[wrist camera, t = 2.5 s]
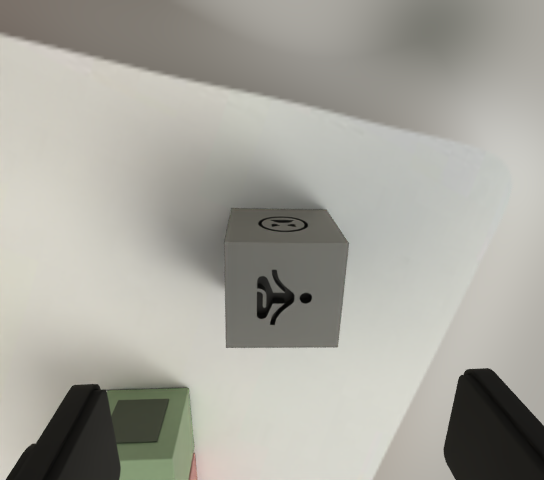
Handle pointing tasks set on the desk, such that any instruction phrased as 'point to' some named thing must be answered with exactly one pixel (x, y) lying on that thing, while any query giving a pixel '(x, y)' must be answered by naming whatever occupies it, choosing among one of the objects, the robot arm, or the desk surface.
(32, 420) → the desk surface
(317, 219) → the dice cube
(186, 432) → the green cube
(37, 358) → the desk surface
